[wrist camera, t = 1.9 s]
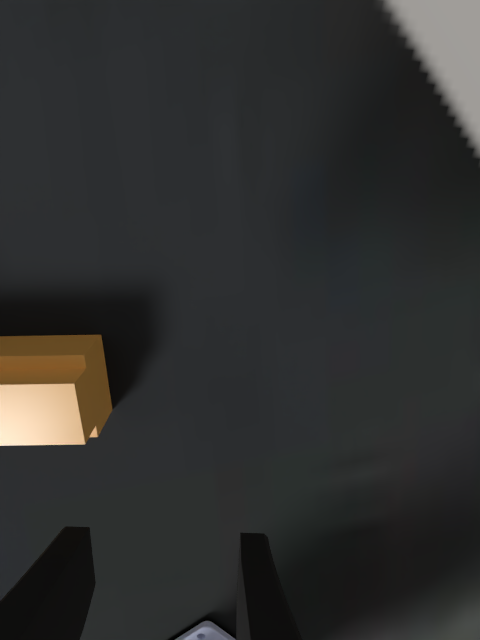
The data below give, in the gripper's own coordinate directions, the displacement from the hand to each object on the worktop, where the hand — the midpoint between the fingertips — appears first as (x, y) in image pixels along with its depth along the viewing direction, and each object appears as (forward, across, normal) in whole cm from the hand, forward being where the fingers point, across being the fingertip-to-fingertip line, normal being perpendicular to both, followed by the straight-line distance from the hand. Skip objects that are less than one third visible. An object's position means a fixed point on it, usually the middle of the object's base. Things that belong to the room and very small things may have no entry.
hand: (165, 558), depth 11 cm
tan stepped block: (+10, +8, 0) cm, 13 cm away
